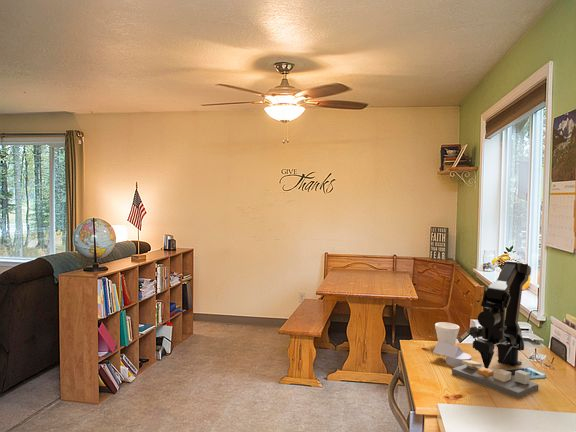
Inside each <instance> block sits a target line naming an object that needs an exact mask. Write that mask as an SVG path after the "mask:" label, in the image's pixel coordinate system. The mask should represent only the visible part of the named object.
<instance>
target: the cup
mask: <svg viewBox="0 0 576 432" xmlns="http://www.w3.org/2000/svg"><path fill="white" fill-rule="evenodd" d="M434 328H435V331H436V337H437V342H442V343H446V344H450V345H455V344H456V341H457V339H458V334H459V331H460V326H459V325H458V324H456V323H451V322H445V321H444V322H443V321H441V322H440V321H439V322H436V323H435V324H434ZM455 346H456V345H455Z"/></svg>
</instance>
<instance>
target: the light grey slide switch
mask: <svg viewBox="0 0 576 432" xmlns="http://www.w3.org/2000/svg"><path fill="white" fill-rule="evenodd" d="M514 376H515V380H514V381H516V382H519V383H522V384H527V383H529V382H530V378H531V372H528V371H524V370H521V369H518V370H515V371H514Z"/></svg>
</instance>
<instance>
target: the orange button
mask: <svg viewBox="0 0 576 432" xmlns="http://www.w3.org/2000/svg"><path fill="white" fill-rule="evenodd" d="M477 373H479V374H482V375H485V376H488V377H489V376H491V375H494V370H491V369H487V368H485V367H482V368H480V369H477Z"/></svg>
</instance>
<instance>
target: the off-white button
mask: <svg viewBox="0 0 576 432" xmlns="http://www.w3.org/2000/svg"><path fill="white" fill-rule="evenodd" d="M511 375H512V372H511V371H508V370H505V369H502V368H498V369H496V370H495V371H494V375H493V378H494V379H497V380H500V381H503V382H506V381H509V380H511Z"/></svg>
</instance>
